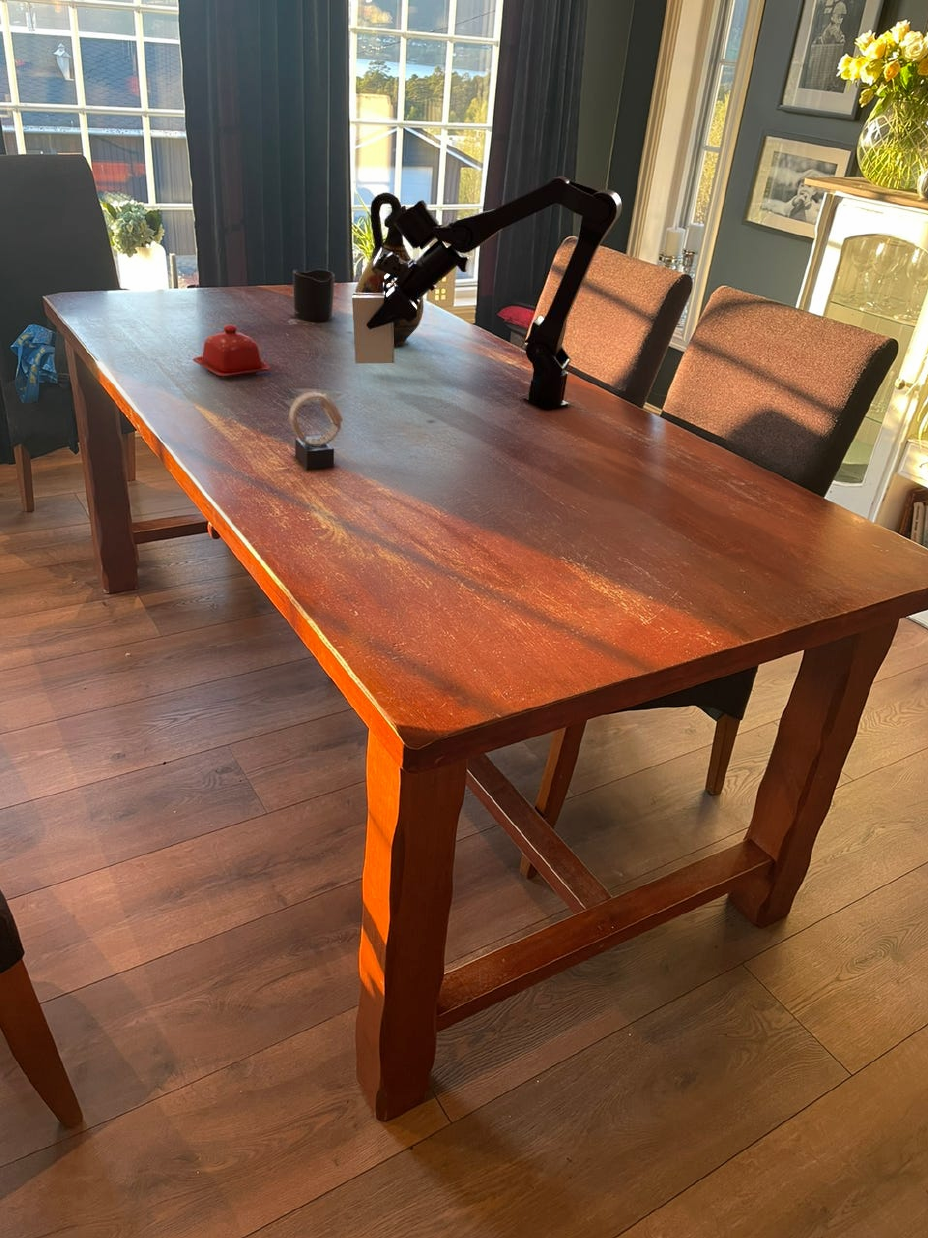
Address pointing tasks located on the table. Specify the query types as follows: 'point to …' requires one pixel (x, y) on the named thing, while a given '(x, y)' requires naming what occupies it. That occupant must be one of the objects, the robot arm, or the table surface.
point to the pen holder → (313, 295)
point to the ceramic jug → (393, 243)
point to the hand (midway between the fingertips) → (367, 324)
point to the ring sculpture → (315, 448)
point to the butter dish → (231, 354)
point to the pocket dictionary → (371, 331)
